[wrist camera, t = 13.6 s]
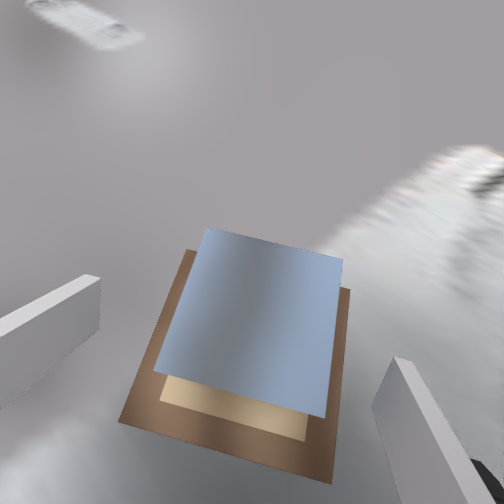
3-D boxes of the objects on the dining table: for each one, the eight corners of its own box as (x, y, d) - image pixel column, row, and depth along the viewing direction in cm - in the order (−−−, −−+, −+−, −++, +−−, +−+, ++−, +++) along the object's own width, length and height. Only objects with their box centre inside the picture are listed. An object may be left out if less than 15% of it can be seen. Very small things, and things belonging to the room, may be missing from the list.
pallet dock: (335, 303, 27) (350, 289, 23) (315, 469, 21) (331, 484, 17) (193, 267, 28) (186, 249, 24) (137, 417, 22) (117, 421, 18)
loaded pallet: (317, 305, 22) (379, 237, 13) (298, 437, 18) (367, 487, 9) (207, 278, 23) (186, 192, 13) (166, 399, 19) (91, 406, 9)
